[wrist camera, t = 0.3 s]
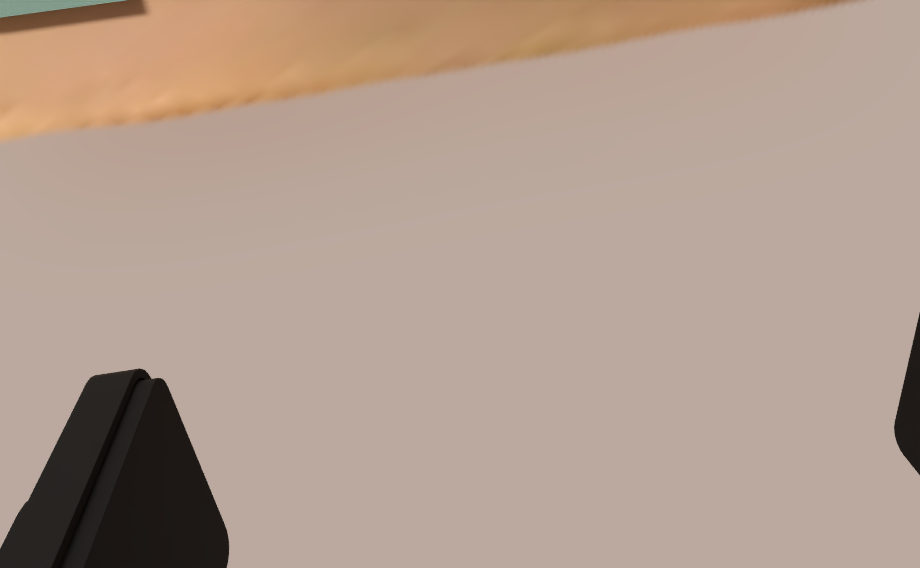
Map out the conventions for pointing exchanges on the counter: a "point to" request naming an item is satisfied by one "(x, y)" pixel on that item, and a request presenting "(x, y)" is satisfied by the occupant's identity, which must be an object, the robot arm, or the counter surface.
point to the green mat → (42, 5)
